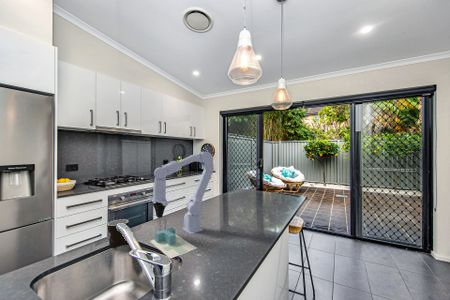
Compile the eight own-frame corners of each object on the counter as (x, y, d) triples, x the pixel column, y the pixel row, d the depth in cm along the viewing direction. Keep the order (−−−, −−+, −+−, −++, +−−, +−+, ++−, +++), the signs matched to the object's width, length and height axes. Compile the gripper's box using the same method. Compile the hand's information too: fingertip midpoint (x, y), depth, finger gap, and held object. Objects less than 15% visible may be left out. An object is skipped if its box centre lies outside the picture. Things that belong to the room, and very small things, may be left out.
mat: (149, 241, 92) (149, 240, 92) (174, 234, 101) (174, 233, 101) (170, 260, 76) (170, 258, 76) (198, 249, 85) (198, 248, 85)
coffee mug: (108, 241, 92) (109, 220, 92) (129, 239, 95) (129, 218, 95) (103, 253, 81) (103, 229, 81) (125, 249, 84) (126, 226, 84)
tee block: (154, 240, 92) (155, 232, 92) (172, 235, 98) (172, 227, 99) (163, 247, 86) (163, 238, 86) (181, 241, 92) (181, 233, 92)
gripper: (146, 189, 103) (146, 215, 102) (158, 193, 92) (157, 222, 92) (159, 188, 108) (159, 212, 107) (172, 191, 97) (171, 219, 96)
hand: (159, 217), depth 100 cm, fingers closed
